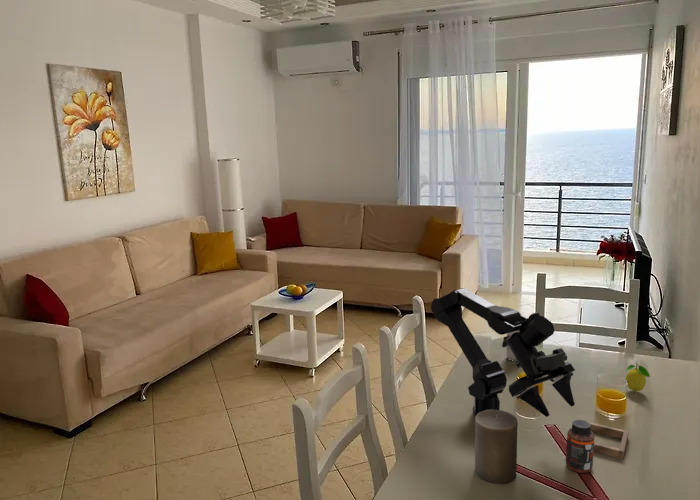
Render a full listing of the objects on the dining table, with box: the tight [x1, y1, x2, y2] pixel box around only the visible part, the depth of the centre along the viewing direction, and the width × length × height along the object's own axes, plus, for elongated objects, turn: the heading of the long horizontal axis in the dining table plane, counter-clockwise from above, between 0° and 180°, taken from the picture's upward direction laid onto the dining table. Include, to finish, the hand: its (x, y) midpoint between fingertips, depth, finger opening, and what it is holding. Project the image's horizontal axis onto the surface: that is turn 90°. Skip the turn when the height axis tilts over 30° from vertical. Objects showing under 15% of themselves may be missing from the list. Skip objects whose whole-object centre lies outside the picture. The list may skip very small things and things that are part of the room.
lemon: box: [625, 362, 651, 393], centre depth 165 cm, size 7×6×10 cm
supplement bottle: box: [565, 419, 595, 474], centre depth 128 cm, size 6×6×11 cm
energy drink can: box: [505, 330, 519, 362], centre depth 192 cm, size 6×6×15 cm
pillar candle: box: [474, 409, 518, 485], centre depth 127 cm, size 10×10×15 cm
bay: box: [588, 421, 629, 460], centre depth 139 cm, size 10×11×2 cm
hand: (560, 410), depth 132 cm, fingers open, 9 cm apart
